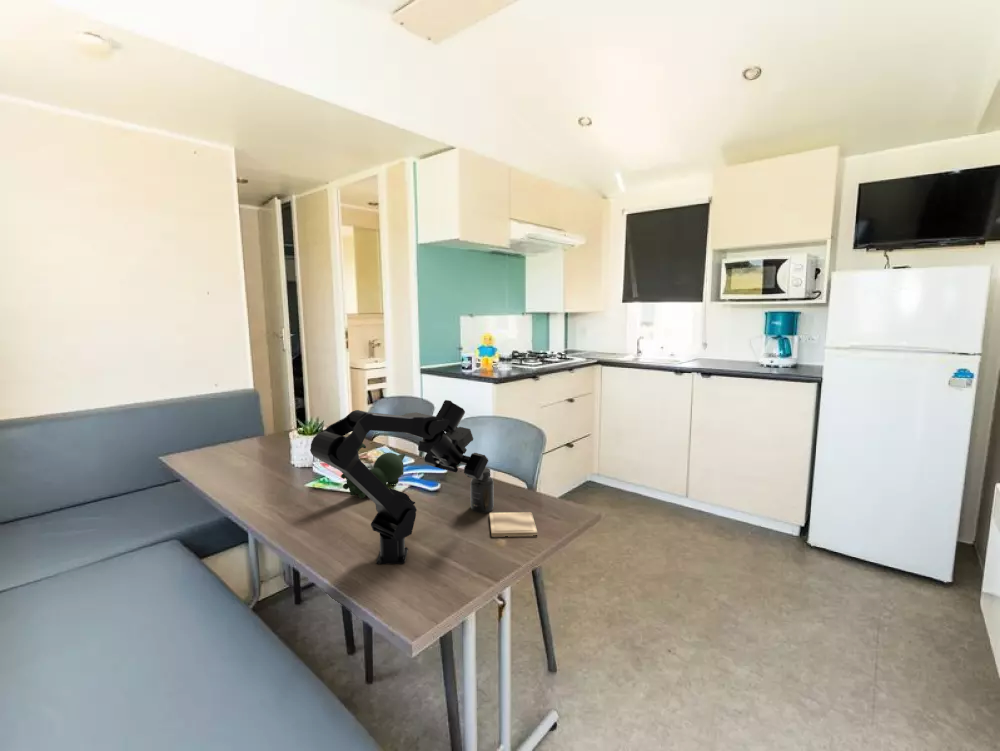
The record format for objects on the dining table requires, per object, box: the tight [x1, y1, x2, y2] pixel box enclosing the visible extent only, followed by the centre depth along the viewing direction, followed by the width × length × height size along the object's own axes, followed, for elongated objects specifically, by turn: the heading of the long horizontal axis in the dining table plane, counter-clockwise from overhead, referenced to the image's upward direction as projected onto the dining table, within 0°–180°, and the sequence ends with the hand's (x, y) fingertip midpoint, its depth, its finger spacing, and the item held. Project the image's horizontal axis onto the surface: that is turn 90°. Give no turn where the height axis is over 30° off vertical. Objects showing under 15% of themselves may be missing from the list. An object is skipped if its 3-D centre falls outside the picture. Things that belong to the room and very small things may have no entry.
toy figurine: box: [340, 442, 406, 499], centre depth 150 cm, size 9×19×25 cm
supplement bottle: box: [470, 466, 495, 514], centre depth 138 cm, size 7×7×12 cm
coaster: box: [489, 511, 538, 538], centre depth 129 cm, size 12×12×1 cm
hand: (469, 474), depth 132 cm, fingers open, 9 cm apart
